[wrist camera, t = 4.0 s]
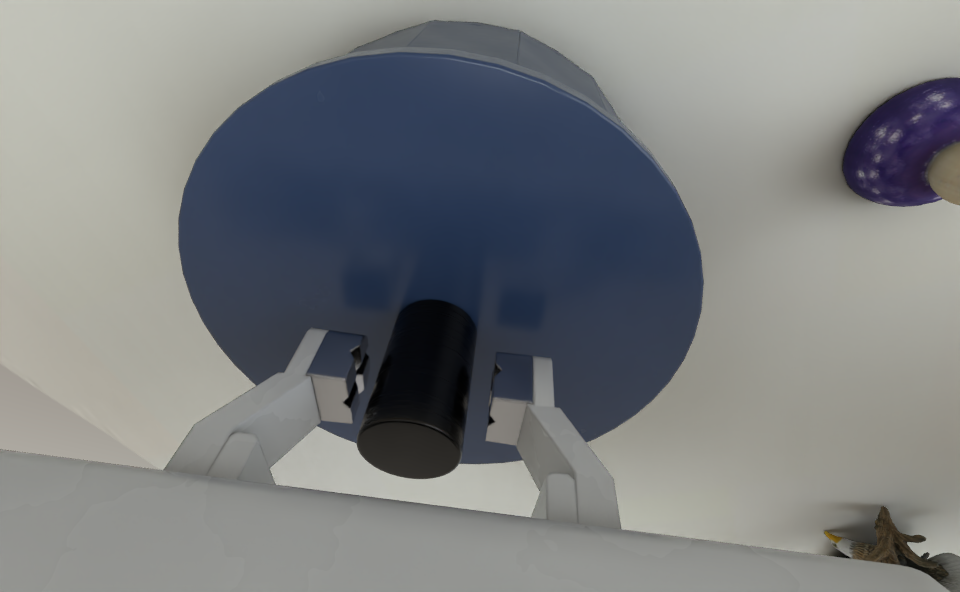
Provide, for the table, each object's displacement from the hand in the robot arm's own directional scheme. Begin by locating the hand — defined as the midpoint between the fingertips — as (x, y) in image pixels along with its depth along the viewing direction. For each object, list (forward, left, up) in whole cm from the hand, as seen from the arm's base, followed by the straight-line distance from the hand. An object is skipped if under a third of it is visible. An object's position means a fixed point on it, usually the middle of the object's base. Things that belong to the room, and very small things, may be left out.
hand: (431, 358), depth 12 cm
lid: (0, 0, -2) cm, 2 cm away
